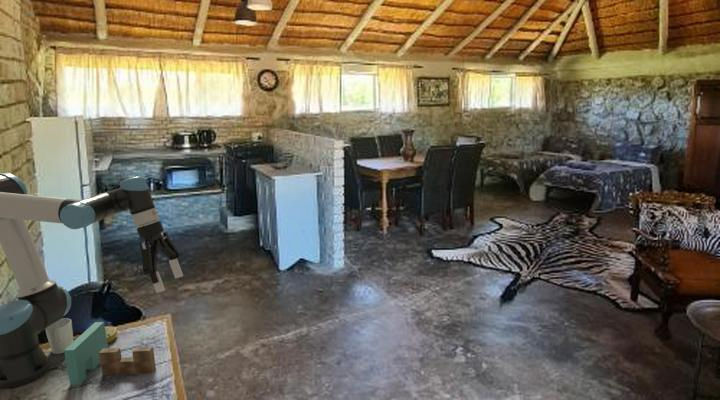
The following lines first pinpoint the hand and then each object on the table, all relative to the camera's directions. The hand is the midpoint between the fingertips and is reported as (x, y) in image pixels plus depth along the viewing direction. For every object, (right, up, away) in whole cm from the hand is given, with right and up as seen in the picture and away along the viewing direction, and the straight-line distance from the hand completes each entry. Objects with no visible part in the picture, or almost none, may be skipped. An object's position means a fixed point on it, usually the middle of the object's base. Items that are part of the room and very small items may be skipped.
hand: (170, 284), depth 153 cm
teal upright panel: (-26, -28, 0) cm, 38 cm away
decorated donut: (-33, -24, +18) cm, 45 cm away
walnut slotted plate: (-12, -28, -3) cm, 31 cm away
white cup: (-44, -26, +13) cm, 52 cm away
